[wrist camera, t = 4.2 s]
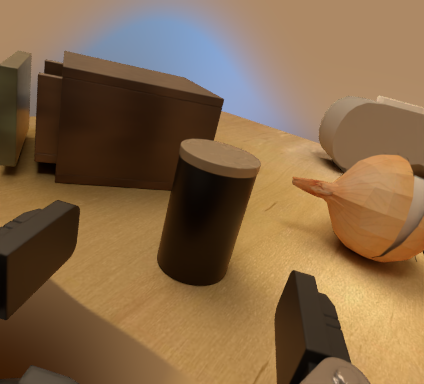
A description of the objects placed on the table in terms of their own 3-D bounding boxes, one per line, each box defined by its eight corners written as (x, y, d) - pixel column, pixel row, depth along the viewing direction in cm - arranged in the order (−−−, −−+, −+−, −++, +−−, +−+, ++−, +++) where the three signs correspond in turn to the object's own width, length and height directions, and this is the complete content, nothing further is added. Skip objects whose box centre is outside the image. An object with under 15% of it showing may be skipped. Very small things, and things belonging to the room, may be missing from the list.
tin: (151, 278, 20) (178, 155, 17) (160, 236, 25) (183, 133, 22) (229, 292, 21) (267, 175, 18) (224, 249, 25) (254, 150, 22)
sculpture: (528, 215, 24) (353, 112, 23) (446, 314, 26) (282, 223, 25) (446, 188, 33) (318, 113, 32) (390, 263, 35) (268, 194, 34)
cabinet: (54, 182, 28) (62, 66, 25) (58, 137, 39) (64, 50, 35) (200, 192, 34) (224, 99, 31) (169, 150, 45) (184, 77, 41)
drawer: (-68, 159, 25) (-77, 50, 22) (-31, 120, 34) (-34, 39, 32) (150, 178, 32) (165, 97, 29) (131, 140, 42) (141, 76, 39)
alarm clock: (406, 178, 66) (440, 112, 61) (434, 196, 58) (476, 121, 53) (308, 153, 65) (334, 83, 60) (321, 168, 56) (352, 88, 51)
